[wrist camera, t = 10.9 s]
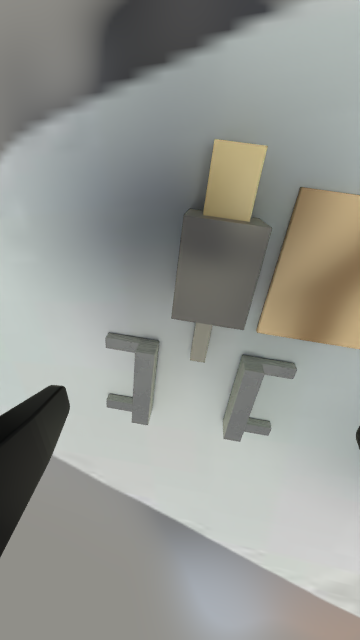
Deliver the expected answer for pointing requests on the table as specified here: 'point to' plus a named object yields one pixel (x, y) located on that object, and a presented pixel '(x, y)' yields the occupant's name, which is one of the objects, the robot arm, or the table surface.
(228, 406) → the pair of grey brackets
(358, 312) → the pad
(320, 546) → the table surface
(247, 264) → the plug
